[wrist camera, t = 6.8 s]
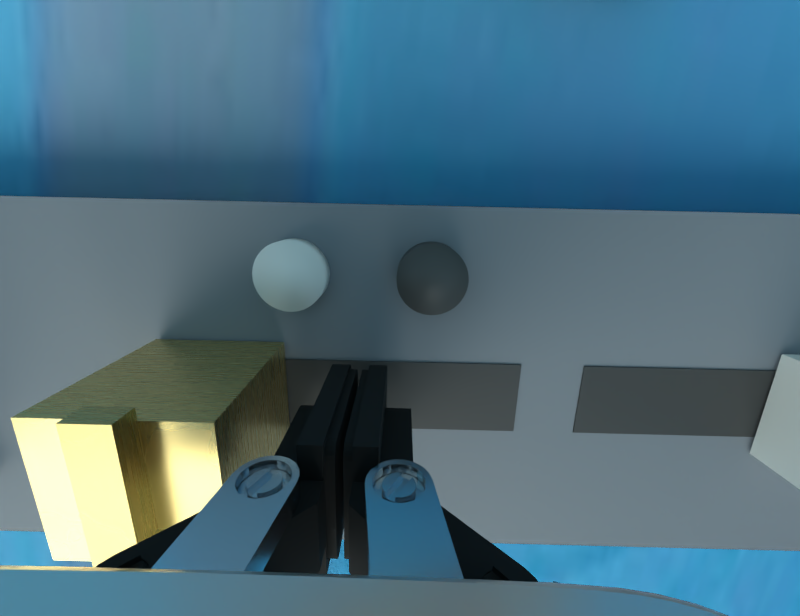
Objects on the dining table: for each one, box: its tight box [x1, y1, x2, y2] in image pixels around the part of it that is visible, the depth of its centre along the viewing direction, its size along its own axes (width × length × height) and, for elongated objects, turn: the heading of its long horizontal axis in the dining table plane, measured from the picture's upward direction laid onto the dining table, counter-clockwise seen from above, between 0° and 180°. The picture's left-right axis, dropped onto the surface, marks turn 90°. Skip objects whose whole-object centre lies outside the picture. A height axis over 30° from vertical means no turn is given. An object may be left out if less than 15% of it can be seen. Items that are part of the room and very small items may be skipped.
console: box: [0, 196, 800, 551], centre depth 13 cm, size 12×38×4 cm, turn 89°
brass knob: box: [11, 339, 290, 567], centre depth 10 cm, size 4×4×5 cm
